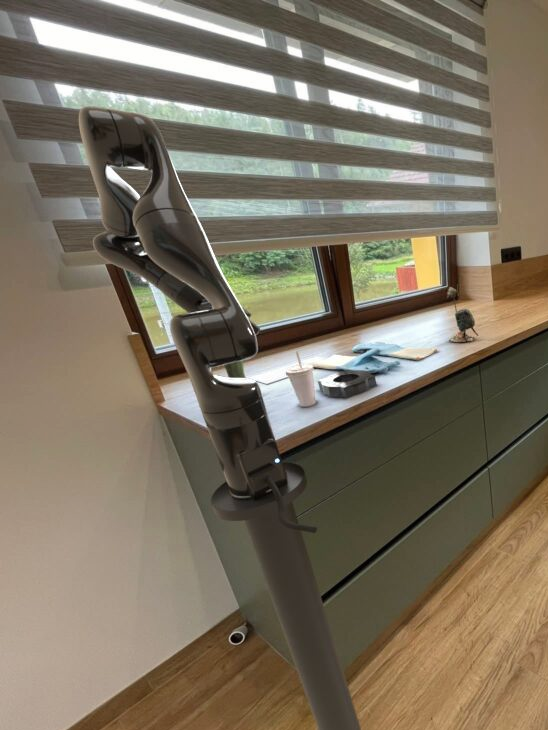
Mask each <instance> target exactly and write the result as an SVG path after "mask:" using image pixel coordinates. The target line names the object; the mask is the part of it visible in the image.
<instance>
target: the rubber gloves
mask: <svg viewBox="0 0 548 730" xmlns="http://www.w3.org/2000/svg"><path fill="white" fill-rule="evenodd" d="M360 350H366V352H364V353H362V354H360V355H358V356H350V355H340V354H332V355H331V356H330V357H328V358H326V359H323V360H320V359H313V360H310V361H308V362H307V364H308V365H312V366H313V368H318V369H319V368H320V369H326V370H343V371H346V370H348V369H349V370H364V371H368V372H370V373H371V374H374V373H385V372H388V370H389V369H394V368H397V367H398V366H400V365H401V361H400V360H394V361H390V362H389V361H383V360H381V359H379V358H377V357H375V355H378V356H379V355H380V356H388V357H393V358H401V359H407V360H415V361H418V360H422V359H424V358H427V357H428V356H431V355H433V354H435V353H436V352H438V348H427V347H401V346H400V345H399V344H397V343H386V342H382V341H381V342H380V341H379V342H378V341H377V342H374V343H373V342H366V343H359V344H357V345H355V346H353V348H351V352H353V353H357V352H358V351H360Z"/></svg>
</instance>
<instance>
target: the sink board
mask: <svg viewBox="0 0 548 730" xmlns="http://www.w3.org/2000/svg"><path fill="white" fill-rule="evenodd" d="M376 378H377V377H376V375H374V374H372V373H370V372H368V371H364V370H349V369H348V370H343V371H340V372H336V373H333V374H331V375H328V376H325V377H324V378H321V379H318V380H317V385H318V389H319V391H320V392H322V393H323V394H324V396H326V397H329V398H344V399H348V398H350V397H352V396H355V395H359V394H361V393H364V392H366V391H368V390H370V389H372V388H375V387H377V385H378V384H377V380H376Z"/></svg>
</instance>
